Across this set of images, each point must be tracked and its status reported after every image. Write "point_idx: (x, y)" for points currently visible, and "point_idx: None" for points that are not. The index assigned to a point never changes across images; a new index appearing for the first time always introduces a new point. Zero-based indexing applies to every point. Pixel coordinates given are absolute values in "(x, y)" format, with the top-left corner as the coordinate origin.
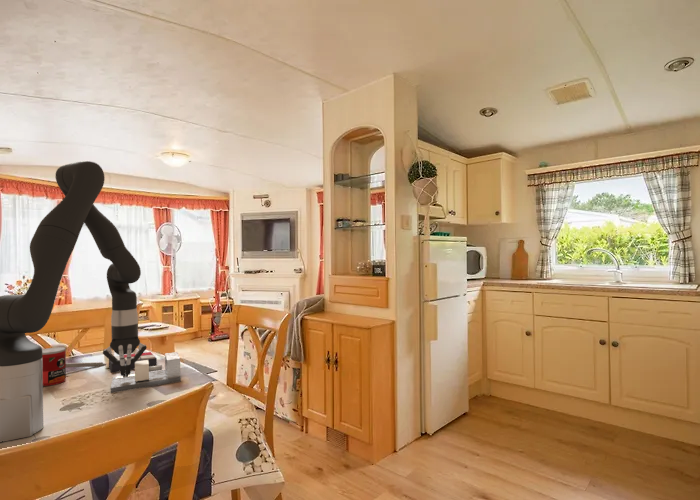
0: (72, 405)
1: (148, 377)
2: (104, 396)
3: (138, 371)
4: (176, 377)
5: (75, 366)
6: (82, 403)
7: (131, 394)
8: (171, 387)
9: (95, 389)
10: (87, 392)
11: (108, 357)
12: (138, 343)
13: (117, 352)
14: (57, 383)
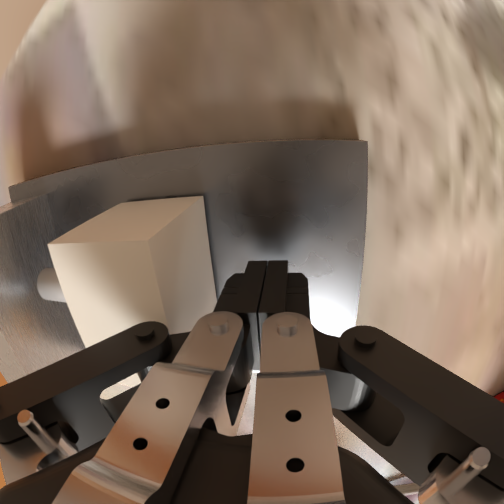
0: (501, 55)
1: (116, 206)
2: (388, 90)
3: (147, 218)
4: (19, 187)
5: (416, 484)
6: (471, 48)
7: (224, 42)
8: (46, 101)
9: (431, 271)
10: (465, 237)
11: (473, 395)
12: (1, 489)
13: (361, 477)
14: (494, 397)
